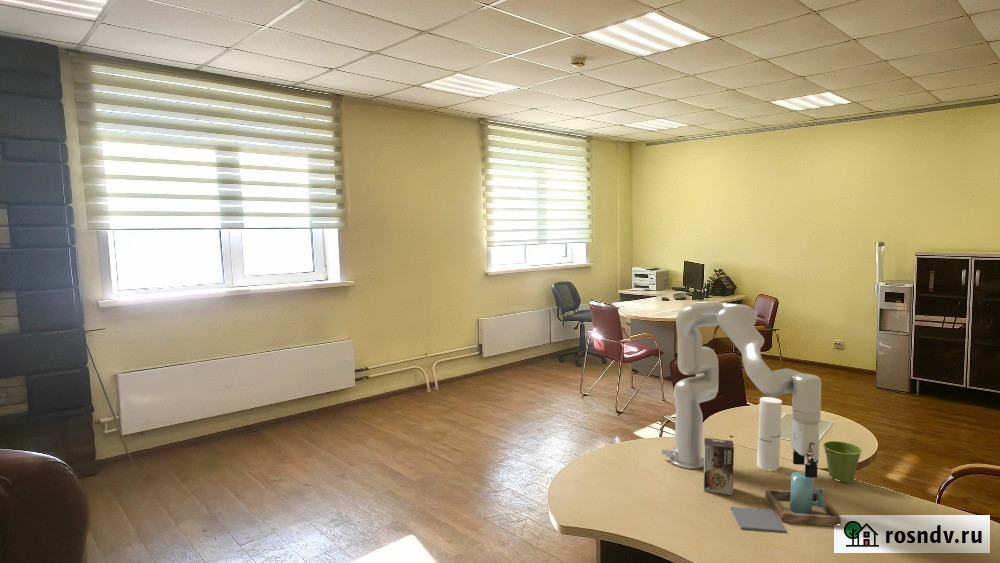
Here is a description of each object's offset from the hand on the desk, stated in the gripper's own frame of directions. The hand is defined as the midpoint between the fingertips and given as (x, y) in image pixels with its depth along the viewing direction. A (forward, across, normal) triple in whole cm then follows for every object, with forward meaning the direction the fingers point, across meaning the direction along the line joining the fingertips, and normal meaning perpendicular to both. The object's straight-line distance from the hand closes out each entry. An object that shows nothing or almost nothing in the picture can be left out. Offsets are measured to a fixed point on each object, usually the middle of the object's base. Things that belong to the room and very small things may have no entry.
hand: (804, 470), depth 170 cm
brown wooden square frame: (+13, -1, -1) cm, 13 cm away
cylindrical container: (+13, -33, -1) cm, 35 cm away
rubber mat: (+13, +7, -16) cm, 21 cm away
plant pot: (+13, -27, +21) cm, 37 cm away
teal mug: (+13, -1, +1) cm, 13 cm away
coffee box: (+13, -12, -23) cm, 28 cm away
